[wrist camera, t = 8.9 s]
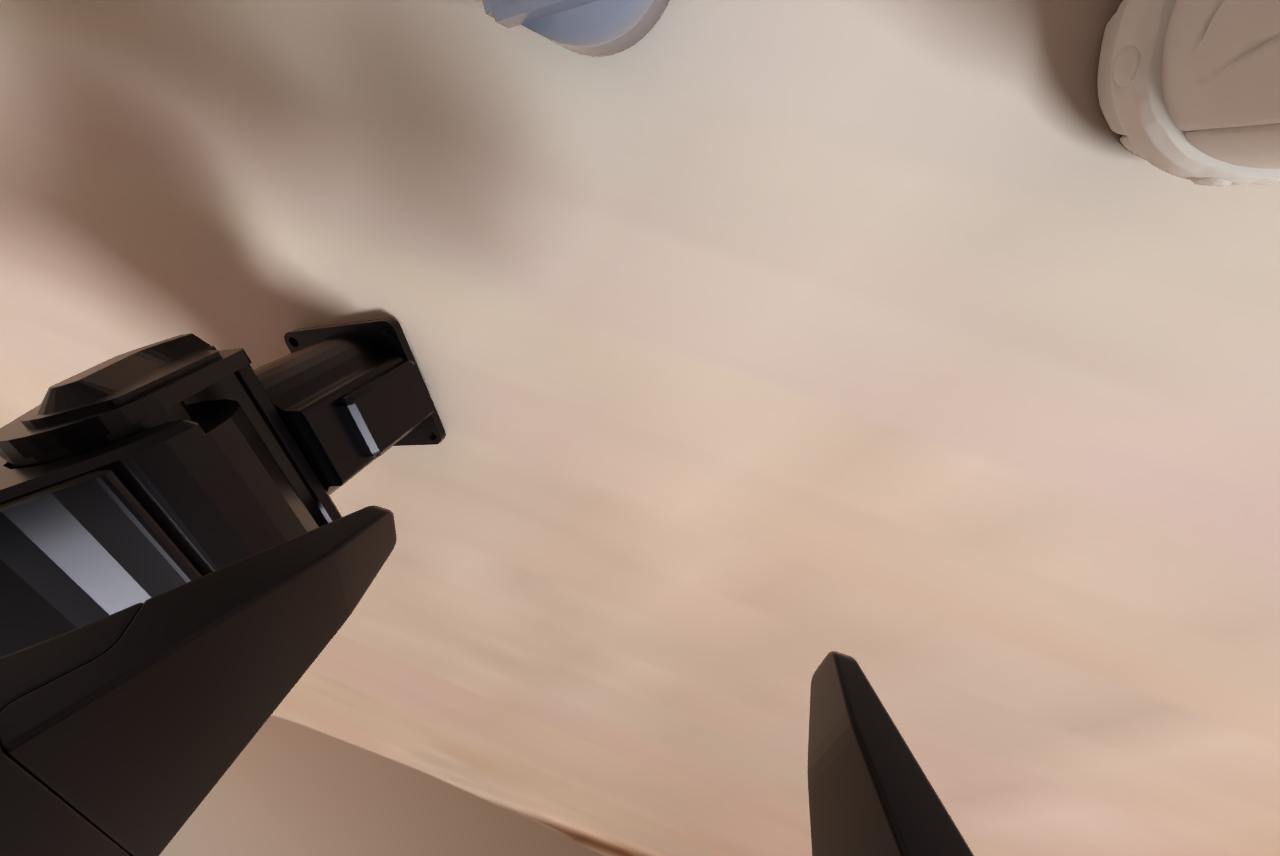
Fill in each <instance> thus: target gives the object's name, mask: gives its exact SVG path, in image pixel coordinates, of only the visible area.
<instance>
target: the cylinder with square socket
mask: <svg viewBox="0 0 1280 856" xmlns="http://www.w3.org/2000/svg"><path fill="white" fill-rule="evenodd" d="M669 1H670V0H483V4H484V8H485V12H486V14H487V15H489V16H491V17H493V18H495V22H497V23H499V24H501V25H503V26H505V27H507V28H510V27H513V26H517V25H520V24H522V25H523V26H525V27H527V28H529V29H531V30H533V31H535V32H537V33H539V34H540V35H542V36H544V37H546V38H548V39H550V40H552V41H554V42H556V43H558V44H559V45H561V46H563V47H565V48H567V49H569V50H571V51H573V52H576V53H579V54H582V55H587V56H607V55H613V54H616V53H618V52H621V51H624V50H625V49H627V48H629V47H631V46H633V45H634V44H635V43H637V42H638V41H639V40H641V39H642V38H643V37H644V36H645V35H646V34H647V33H648V32H649V31H650V30H651V29H652V28H653V26H654V25H655V24H656V22H657V21H658V20H659V19H660V17H661V15H662V14H663V12H664V10H665V9H666V7H667V5H668V3H669Z"/></svg>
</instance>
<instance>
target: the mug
mask: <svg viewBox="0 0 1280 856" xmlns="http://www.w3.org/2000/svg"><path fill="white" fill-rule="evenodd" d="M1097 87H1098V98H1099V103H1100V108H1101V110H1102V113H1103V115H1104V117H1105V119H1106V121H1107V123H1108V125H1109V127H1110V129H1111V130H1112V131H1114V132H1115V133H1118V134H1121V135H1123V136H1122V137H1121V138H1120V142H1121V143H1122V145H1123V146H1124V147H1125V148H1127V149H1128V150H1129V151H1131V152H1132V153H1134V154H1135V155H1137V156H1139V157H1141V158H1143V159H1146V160H1147V161H1149V162H1150V163H1151V164H1153V165H1154V166H1156V167H1157V168H1159V169H1161V170H1163V171H1165V172H1167V173H1169V174H1172V175H1175V176H1177V177H1181V178H1185V179H1189V180H1191V181H1192V182H1194V183H1195V184H1199V185H1204V186H1216V187H1224V186H1228V185H1230V184H1231V185H1261V184H1273V183H1280V0H1123V1H1122V3H1121V4H1120V6H1119V8H1118V10H1117V12H1116V13H1115V14H1114V15H1113V16H1112V18H1111V19H1110V21H1109V22H1108V24H1107V26H1106V28H1105V31H1104V36H1103V40H1102V46H1101V52H1100V59H1099V67H1098V82H1097Z"/></svg>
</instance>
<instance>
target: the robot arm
mask: <svg viewBox="0 0 1280 856" xmlns="http://www.w3.org/2000/svg"><path fill="white" fill-rule="evenodd" d="M387 327H388V328H389V329H390V331H391V333H390V332H389V331H388V330H387ZM284 338H285V342H286V344H287V346H288V348H289V350H290V351H291V354H289V355H287V356H285V357H282V358H280V359H278V360H275V361H273V362H271V363H268V364H266V365H264V366H261V367H259V368H257V369H255V370H253V369H252V368H251V366H250V363H252V362H251V361H250V359H249V357H248V356H247V354H246V352H245V351H244V349H243V348H240V349H232V350H223V351H218V350H216V348H215V347H214V346H210V345H209V344H207V343H206V342H204V341H203V340H201V339H200V338H198V337H197V336H195V335H194V334H185V335H179V336H176V337H173V338H170V339H166V340H163V341H160V342H157V343H154V344H151V345H148V346H145V347H141V348H138V349H135V350H133V351H130V352H127V353H124V354H122V355H119V356H116V357H114V358H112V359H109V360H107V361H105V362H103V363H101V364H98V365H96V366H94V367H92V368H90V369H88V370H86V371H83V372H81V373H79V374H77V375H75V376H73V377H70V378H68V379H66V380H64V381H62V382H60V383H58V384H55V385H53V386H51V387H49V389H48V391H47V393H46V395H45V397H44V399H43V401H42V403H41V404H40V405H39V406H37V407H35V408H34V409H32V410H30V411H29V412H27V413H25V414H24V415H22V416H20V417H19V418H17V419H15V420H14V421H12V422H10V423H9V424H7V425H5V426H4V427H2V428H0V856H159V855H160V853H161V852H162V851H163V850H164V848H165V847H166V846H167V845H168V843H169V842H170V841H171V840H172V838H173V837H174V836H175V835H176V833H177V832H178V831H179V830H180V828H181V827H182V826H183V825H184V823H185V822H186V821H187V820H188V818H189V817H190V816H191V815H192V813H193V812H194V811H195V810H196V808H197V807H198V806H199V805H200V803H201V802H202V801H203V800H204V798H205V797H206V796H207V795H208V793H209V792H210V791H211V790H212V788H213V787H214V786H215V784H216V783H217V782H218V780H219V779H220V778H221V777H222V776H223V774H224V773H225V772H226V771H227V769H228V768H229V767H230V766H231V764H232V763H233V762H234V761H235V759H236V758H237V757H238V756H239V754H240V753H241V752H242V751H243V749H244V748H245V747H246V746H247V744H248V743H249V742H250V741H251V739H252V738H253V737H254V736H255V734H256V733H257V732H258V730H259V729H260V728H261V727H262V725H263V724H264V723H265V722H266V721H267V719H268V718H269V717H270V716H271V714H272V713H273V712H274V710H275V709H276V708H277V707H278V705H279V704H280V703H281V702H282V700H283V699H284V698H285V697H286V695H287V694H288V693H289V692H290V690H291V689H292V688H293V687H294V685H295V684H296V683H297V682H298V680H299V679H300V678H301V677H302V675H303V674H304V673H305V672H306V670H307V669H308V668H309V667H310V665H311V664H312V663H313V662H314V660H315V659H316V658H317V657H318V655H319V654H320V653H321V652H322V650H323V649H324V648H325V647H326V645H327V644H328V643H329V642H330V640H331V639H332V638H333V636H334V635H335V634H336V633H337V631H338V630H339V629H340V628H341V626H342V625H343V624H344V623H345V621H346V620H347V619H348V617H349V616H350V615H351V613H352V612H353V610H354V609H355V607H356V606H357V604H358V603H359V601H360V600H361V598H362V597H363V595H364V594H365V592H366V590H367V589H368V587H369V586H370V584H371V583H372V581H373V580H374V578H375V577H376V575H377V573H378V572H379V570H380V569H381V567H382V566H383V564H384V563H385V561H386V560H387V558H388V557H389V555H390V553H391V552H392V550H393V549H394V546H395V544H396V530H395V522H394V516H393V513H392V512H391V511H390V510H388V509H384V508H381V507H378V506H368V507H366V508H363V509H361V510H359V511H356V512H354V513H351V514H349V515H347V516H344V517H342V516H341V514H340V513H339V511H338V509H337V508H336V506H335V504H334V503H333V501H332V499H331V498H330V496H329V495H330V494H332V493H333V492H334V491H335V490H337V489H338V488H339V487H340V486H342V485H343V484H344V483H346V482H347V481H348V480H349V479H351V478H352V477H353V476H354V475H356V474H357V473H358V472H359V471H361V470H362V469H363V468H364V467H366V466H367V465H368V464H369V463H371V462H372V461H373V460H374V459H376V458H377V457H378V456H381V455H382V454H383V453H384V452H386V451H387V450H388V449H389V448H391V447H392V446H399V445H429V444H439V443H440V442H441V441H442V440H443V439H444V438H445V436H446V434H445V430H444V428H443V426H442V423H441V421H440V419H439V416H438V414H437V412H436V409H435V407H434V405H433V402H432V400H431V397H430V395H429V393H428V390H427V388H426V386H425V383H424V381H423V379H422V376H421V374H420V371H419V369H418V367H417V364H416V362H415V360H414V357H413V355H412V353H411V350H410V348H409V346H408V343H407V341H406V338H405V336H404V334H403V331H402V329H401V327H400V325H399V324H398V323H397V322H396V321H395V320H393V319H390V318H386V319H378V320H369V321H361V322H353V323H345V324H337V325H329V326H321V327H313V328H305V329H297V330H293V331H291V332H288V333H286V334H285V336H284ZM433 433H435V434H436V435H434V434H433ZM808 791H809V807H810V823H811V839H812V856H974V855H973V853H972V852H971V850H970V848H969V847H968V845H967V843H966V842H965V840H964V838H963V837H962V835H961V833H960V832H959V830H958V829H957V827H956V825H955V824H954V822H953V820H952V819H951V817H950V815H949V814H948V812H947V810H946V809H945V807H944V805H943V804H942V802H941V800H940V799H939V797H938V795H937V794H936V792H935V790H934V789H933V787H932V785H931V784H930V782H929V780H928V779H927V777H926V775H925V774H924V772H923V771H922V769H921V767H920V766H919V764H918V762H917V761H916V759H915V757H914V756H913V754H912V752H911V751H910V749H909V747H908V746H907V744H906V742H905V741H904V739H903V737H902V736H901V734H900V732H899V731H898V729H897V727H896V726H895V724H894V722H893V721H892V719H891V718H890V716H889V714H888V713H887V711H886V709H885V708H884V706H883V704H882V703H881V701H880V699H879V698H878V696H877V694H876V693H875V691H874V689H873V688H872V686H871V684H870V683H869V681H868V679H867V678H866V676H865V674H864V673H863V671H862V669H861V668H860V666H859V664H858V663H857V661H856V660H855V659H854V658H852V657H851V656H848V655H845V654H842V653H839V652H835V651H832V652H829V653H828V655H827V656H826V657H825V659H824V660H823V661H822V663H821V664H820V666H819V667H818V668H817V670H816V671H815V673H814V675H813V677H812V681H811V695H810V719H809V743H808Z"/></svg>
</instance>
